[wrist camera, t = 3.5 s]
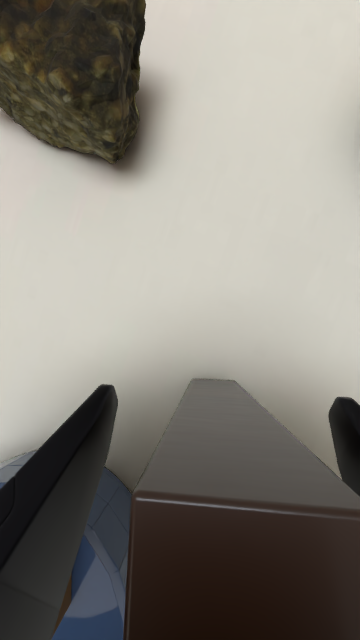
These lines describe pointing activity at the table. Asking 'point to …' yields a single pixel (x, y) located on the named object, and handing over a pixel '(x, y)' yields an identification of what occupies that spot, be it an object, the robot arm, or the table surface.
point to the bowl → (95, 562)
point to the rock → (73, 71)
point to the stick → (240, 531)
